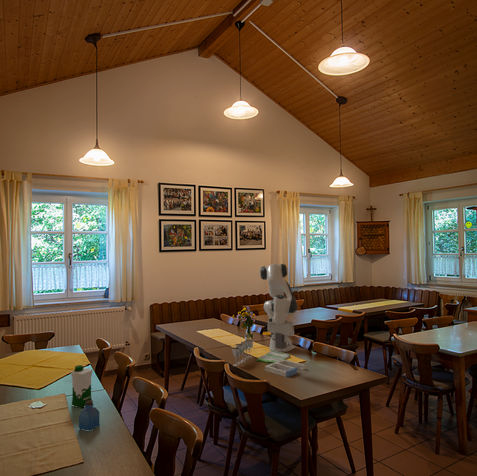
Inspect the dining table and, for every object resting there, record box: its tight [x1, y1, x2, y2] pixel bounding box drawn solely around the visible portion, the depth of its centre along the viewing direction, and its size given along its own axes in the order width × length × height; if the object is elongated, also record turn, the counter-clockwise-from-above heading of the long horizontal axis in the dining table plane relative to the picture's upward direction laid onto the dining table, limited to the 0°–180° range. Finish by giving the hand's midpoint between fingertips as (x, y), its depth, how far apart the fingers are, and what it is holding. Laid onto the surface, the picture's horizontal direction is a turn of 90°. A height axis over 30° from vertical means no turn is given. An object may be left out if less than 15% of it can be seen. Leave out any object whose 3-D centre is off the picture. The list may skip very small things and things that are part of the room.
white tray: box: [264, 359, 306, 378], centre depth 251 cm, size 20×19×4 cm
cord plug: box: [275, 333, 286, 349], centre depth 248 cm, size 5×5×10 cm
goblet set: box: [232, 339, 254, 367], centre depth 273 cm, size 28×6×13 cm, turn 154°
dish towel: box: [256, 350, 291, 365], centre depth 277 cm, size 17×23×4 cm
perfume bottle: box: [78, 400, 100, 431], centre depth 173 cm, size 6×6×12 cm
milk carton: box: [70, 364, 94, 408], centre depth 198 cm, size 9×9×20 cm
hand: (280, 340), depth 248 cm, fingers closed on cord plug, 5 cm apart
